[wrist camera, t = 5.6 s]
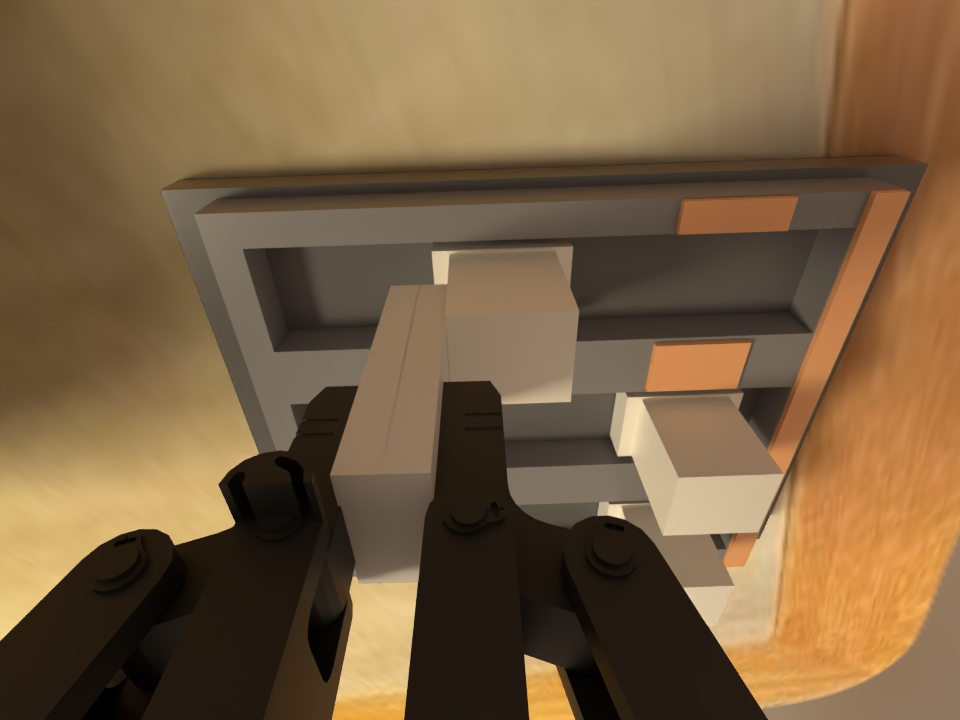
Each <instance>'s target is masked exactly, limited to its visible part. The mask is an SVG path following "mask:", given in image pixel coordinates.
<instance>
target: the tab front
mask: <svg viewBox="0 0 960 720" xmlns="http://www.w3.org/2000/svg"><path fill="white" fill-rule="evenodd" d="M572 256H573V245H572V243H571V241H570V239H569V238H545V239H516V240H488V241H459V242H433V246H432V262H433V274H434V285H436V284H447V293H446V306H445V325H446V338H447V351H448V364H449V377H450V382H460V381H491V383H492V384H493V385H494V387H495V388H496V389H497V391H498V392H499V393H500V395H501V402H502V404H527V403H555V402H571V393H572V383H573V372H574V361H575V351H576V340H577V329H578V319H579V309H578V306H577V304H576V301H575V298H574V296H573V293H572V291H571V288H570V281H571V269H572Z"/></svg>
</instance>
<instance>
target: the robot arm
mask: <svg viewBox="0 0 960 720" xmlns="http://www.w3.org/2000/svg"><path fill="white" fill-rule="evenodd" d="M446 293H447V284H436V285H398V286H391V287H390V290H389V293H388V296H387V299H386V302H385V306H384V309H383V312H382V315H381V318H380V321H379V324H378V327H377V330H376V334H375V337H374V340H373V343H372V346H371V349H370V352H369V355H368V358H367V362H366V365H365V368H364V371H363V374H362V377H361V380H360V383H359V386H330V387H325V388H324V389H323V390H322V391H321V392H320V393H319V394H318V395H317V396H316V397H314V398H313V399H312V400H311V401H310V402H309V405H308V407H307V409H306V412H305V414H304V416H303V418H302V423H300V425H299V427H298V430H297V432H296V438H294V439H293V441H292V443H291V446H290V448H289V450H288V451H282V450H279V451H272V452H266V453H261V454H259V455H256V456H254V457H251V458H249V459H247V460H244V461H243V462H241V463H240V464H239V465H237V466H236V467H234V468H233V469H232V470H230V471H229V472H228V473H227V474H226V476H225V477H224V478H223V479H222V481H221V482H220V483H219V484H218V485H219V487H220V489H221V492H222V494H223V496H224V498H225V500H226V503H227V505H228V507H229V509H230V511H231V514H232V516H233V518H234V520H235V525H234V527H232V528H230V529H227V530H225V531H222V532H219V533H217V534H213V535H210V536H206V537H203V538H199V539H196V540H192V541H189V542H186V543H182V544H179V545H174V544H173V542H172V540H171V538H170V537H169V535H167V534H165V533H163V532H161V531H159V530H157V529H139V530H136V531H132V532H128V533H125V534H121V535H119V536H117V537H115V538H113V539H111V540H109V541H107V542H105V543H104V544H102V545H100V546H99V547H97V548H96V549H95V550H94V551H92V552H91V553H90V554H89V555H87V556H86V557H85V558H84V559H82V560H81V561H80V562H79V563H78V564H77V565H76V566H75V567H74V568H73V569H72V570H71V571H70V572H69V573H68V574H67V575H66V576H65V577H64V578H63V579H62V580H61V581H60V582H59V583H58V584H57V585H56V586H55V587H54V588H53V589H52V590H51V591H50V592H49V593H48V594H47V595H46V596H45V597H44V598H43V599H42V600H41V601H40V602H39V603H38V604H37V605H36V606H35V607H34V608H33V609H32V610H31V611H30V612H29V613H28V614H27V615H26V616H25V617H24V618H23V619H22V620H21V621H20V622H19V623H18V624H17V625H16V626H15V627H14V628H13V629H12V630H11V631H10V632H9V633H8V634H7V635H6V636H5V637H4V638H3V639H2V640H1V641H0V720H332V715H333V710H334V705H335V700H336V695H337V690H338V685H339V680H340V676H341V671H342V666H343V661H344V656H345V651H346V646H347V641H348V636H349V631H350V626H351V621H352V600H351V597H350V593H349V590H350V586H351V581H352V576H353V572H354V567H355V570H356V574H357V578H358V582H359V584H366V583H406V582H418V589H417V599H416V609H415V618H414V628H413V638H412V648H411V658H410V668H409V678H408V688H407V698H406V707H405V717H404V720H529V711H528V699H527V686H526V674H525V661H524V654H525V655H528V656H531V657H534V658H537V659H540V660H543V661H546V662H549V663H551V664H554V665H556V667H557V670H558V673H559V676H560V678H561V681H562V684H563V687H564V689H565V692H566V695H567V698H568V701H569V703H570V706H571V709H572V712H573V714H574V717H575V720H768V719H767V718H766V716H765V714H764V713H763V711H762V710H761V708H760V707H759V705H758V703H757V702H756V700H755V699H754V697H753V696H752V694H751V693H750V691H749V689H748V688H747V686H746V685H745V683H744V682H743V680H742V679H741V677H740V675H739V674H738V672H737V671H736V669H735V668H734V666H733V665H732V663H731V661H730V660H729V658H728V657H727V655H726V654H725V652H724V651H723V649H722V647H721V646H720V644H719V643H718V641H717V640H716V638H715V637H714V635H713V633H712V632H711V630H710V629H709V627H708V626H707V624H706V623H705V621H704V619H703V618H702V616H701V615H700V613H699V612H698V610H697V609H696V607H695V605H694V604H693V602H692V601H691V599H690V598H689V596H688V595H687V593H686V591H685V590H684V588H683V587H682V585H681V584H680V582H679V581H678V579H677V577H676V576H675V574H674V573H673V571H672V570H671V568H670V567H669V565H668V563H667V562H666V560H665V559H664V557H663V556H662V554H661V553H660V551H659V549H658V548H657V546H656V545H655V543H654V542H653V541H652V540H651V539H650V538H649V537H648V535H647V534H646V533H645V532H644V531H643V530H642V529H641V528H639V527H637V526H635V525H634V524H632V523H630V522H629V521H627V520H625V519H621V518H617V517H613V516H609V515H604V516H590V517H588V518H586V519H584V520H581V521H579V522H577V523H576V524H575V525H574V526H573V527H572V528H571V529H567V528H563V527H559V526H556V525H552V524H548V523H545V522H542V521H540V520H537V519H534V518H533V517H531V516H530V515H528V514H527V513H525V512H524V511H523V510H522V509H521V508H520V507H519V506H518V505H517V504H516V503H515V502H514V500H513V498H512V496H511V495H510V491H509V487H508V478H507V466H506V453H505V440H504V429H503V416H502V402H501V395H500V393H499V392H498V391H497V389H496V388H495V387H494V385H493V384H492V383H491V381H460V382H450V377H449V364H448V351H447V338H446V325H445V306H446Z"/></svg>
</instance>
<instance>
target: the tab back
mask: <svg viewBox="0 0 960 720" xmlns="http://www.w3.org/2000/svg"><path fill="white" fill-rule="evenodd" d="M604 515H609V516H613V517H617V518H621V519H625V520H627V521H629V522H630V523H632V524H634V525H635V526H637V527H639V528H641V529H642V530H643V531H644V532H645V533H646V534H647V535H648V537H649V538H650V539H651V540H652V541H653V542H654V543H655V545H656V546H657V548H658V549H659V551H660V553H661V554H662V556H663V557H664V559H665V560H666V562H667V563H668V565H669V567H670V568H671V570H672V571H673V573H674V574H675V576H676V577H677V579H678V581H679V582H680V584H681V585H682V587H683V588H684V590H685V591H686V593H687V595H688V596H689V598H690V599H691V601H692V602H693V604H694V605H695V607H696V609H697V610H698V612H699V613H700V615H701V616H702V618H703V619H704V621H705V623H706V624H707V626H717V624H718V622H719V620H720V617H721V615H722V613H723V611H724V608H725V606H726V604H727V601H728V599H729V597H730V595H731V592H732V590H733V588H734V584H733V582H732V580H731V578H730V575H729V573H728V571H727V569H726V567H725V565H724V563H723V561H722V559H721V557H720V555H719V553H718V550H717V548H716V546H715V544H714V542H713V540H712V538H711V536H710V534H697V535H670V536H663V535H662V533H661V530H660V527H659V525H658V522H657V520H656V517H655V514H654V512H653V509H652V507H651V504H650V501H649V500H642V501H614V502H599V507H598V513H597V516H604Z"/></svg>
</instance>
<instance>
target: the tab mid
mask: <svg viewBox="0 0 960 720" xmlns="http://www.w3.org/2000/svg"><path fill="white" fill-rule="evenodd" d="M743 394H744V393H743V392H742V390H741V389H740V388H738V389H714V390H686V391H658V392H625V393H616V398H615V405H614V411H613V418H612V424H611V430H610V437H611V439H612V442H613V445H614V448H615V451H616V454H617V456H632V457H633V460H634V463H635V465H636V468H637V470H638V473H639V476H640V478H641V481H642V483H643V486H644V489H645V491H646V494H647V496H648V499H649V501H650V504H651V507H652V509H653V512H654V514H655V517H656V520H657V522H658V525H659V527H660V530H661V533H662V535H663V536H670V535H697V534H725V533H752V532H759V529H760V527H761V525H762V523H763V520H764V518H765V516H766V513H767V511H768V509H769V507H770V504H771V502H772V500H773V498H774V495H775V493H776V491H777V489H778V486H779V484H780V482H781V480H782V477H783V475H784V473H783V472H782V470H781V469H780V468H779V466H778V465H777V463H776V462H775V461H774V459H773V458H772V456H771V455H770V454H769V452H768V451H767V449H766V448H765V447H764V445H763V444H762V442H761V441H760V440H759V438H758V437H757V435H756V434H755V433H754V431H753V430H752V428H751V427H750V426H749V424H748V423H747V421H746V420H745V419H744V417H743V416H742V414H741V413H740V412H739V410H738V409H739V406H740V403H741V400H742V397H743Z"/></svg>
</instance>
